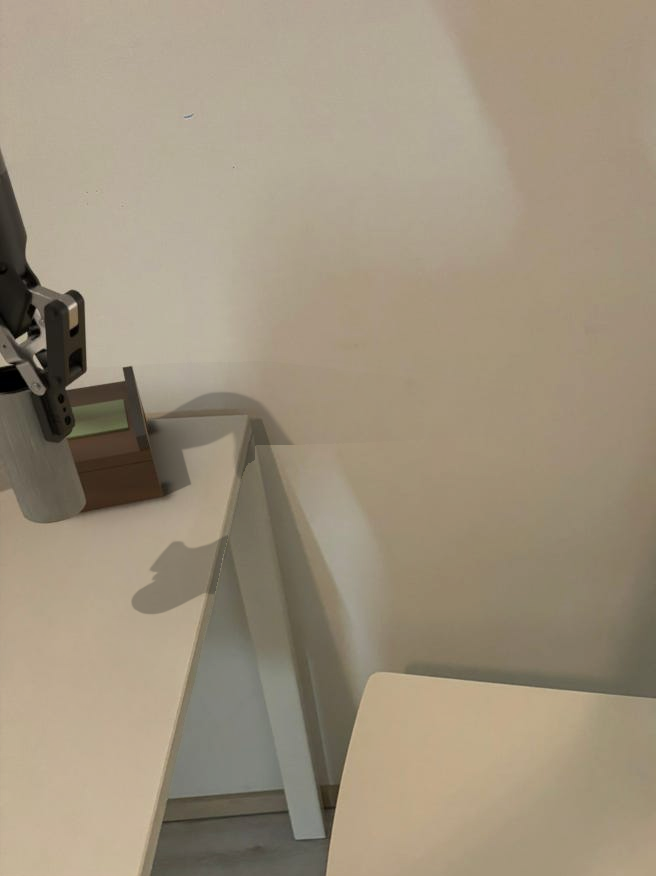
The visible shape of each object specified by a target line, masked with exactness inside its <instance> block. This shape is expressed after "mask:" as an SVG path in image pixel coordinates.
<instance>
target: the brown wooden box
mask: <svg viewBox="0 0 656 876" xmlns="http://www.w3.org/2000/svg"><path fill="white" fill-rule="evenodd" d="M122 372H123V378H124V380H122V381H115V382H108V383H101V384H96V385H89V386H83V387H78V388H71V389H66V392H67V395H68V398H69V402H70V405H71V408H72V411H73V412H72V413H73V414H74V418H75V427H73V430H72V432H71V433H70V434H69V435H68V436H67V437H66V438H67V441H68V444H69V448H70V451H71V454H72V457H73V460H74V463H75V466H76V469H77V472H78V476H79V479H80V482H81V485H82V488H83V491H84V495H85V499H86V504H85V506H84V508H83V509H82V510H81V511H80V512H79V513H78V514H81V513H82V514H83V513H85V512H91V511H97V510H102V509H107V508H113V507H118V506H123V505H128V504H133V503H138V502H144V501H149V500H154V499H160V498H164V493H163V488H162V484H161V479H160V477H159V473H158V469H157V466H156V462H155V459H154V454H153V451H152V446H151V442H150V436H149V433H150V430H149V429H150V428H149V424H148V421H147V417H146V413H145V409H144V405H143V402H142V397H141V394H140V390H139V386H138V382H137V378H136V375H135V372H134V367H133V366H132V365H130V366H123V367H122Z"/></svg>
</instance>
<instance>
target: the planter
mask: <svg viewBox="0 0 656 876" xmlns="http://www.w3.org/2000/svg"><path fill="white" fill-rule="evenodd" d="M37 367H38V368H39V370H40V371H42V370H43V368H41V367H39V366H37ZM32 393H33V392H32V391H31V390H30V388H29V387H28V385H27V384H26V382H25V380H24V379H23V377H22V376H21V374H20V372H19V371H18V369H17V367H16V366H15V365H12V364H8V365H3V366H0V459H1V462H2V464H3V467H4V469H5V473H6V475H7V478H8V481H9V483H10V486H11V488H12V491H13V493H14V496H15V499H16V502H17V504H18V507H19V509H20V512H21V514H22V515H23V517H24V518H25V519H26V520H27V521H29V522H32V523H34V524H45V525H46V524H55V523H60V522H63V521H66V520H68V519H71V518H73V517H75V516H76V515H78V514H80V513H79V512H80V511H81V510H82V509H83V508H84V506H85V504H86V499H85V495H84V491H83V488H82V485H81V482H80V479H79V476H78V472H77V469H76V466H75V463H74V460H73V457H72V454H71V451H70V448H69V444H68V441H67V438H64V439H63V440H62V441H61V442H59V443H55V442H49V441H47V440H46V439H45V437H44V434H43V431H42V428H41V425H40V422H39V419H38V416H37V413H36V410H35V407H34V405H33V402H32V399H31V396H30V394H32Z"/></svg>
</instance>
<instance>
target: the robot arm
mask: <svg viewBox="0 0 656 876" xmlns="http://www.w3.org/2000/svg"><path fill="white" fill-rule="evenodd" d="M3 155H4V154H3V152H2V149H1V147H0V354H1V356H2V358H3V360H4V361H5V362H6V363H7V364H8V365H15V366H16V367H17V369H18V371H19V372H20V374H21V376H22V377H23V379H24V380H25V382H26V384H27V385H28V387H29V388H30V390H31V391H32V392H33V393H32V394H30V396H31V399H32V402H33V405H34V407H35V410H36V413H37V416H38V419H39V422H40V425H41V428H42V431H43V434H44V437H45V439H46V440H47V441H49V442H55V443H59V442H61V441H62V440H63V439H64V438H66V437H67V436H68V435H69V434H70V433H71V432H72V430H73V427H75V418H74V414H73V413H72V412H73V411H72V408H71V405H70V402H69V398H68V395H67V392H66V390H67V389H66V388H67V387H68V386H69V385H71V384H72V383H74V382H75V381H76V380H78V379H79V378H80V377H82V376H83V375H85V374H86V373H87V370H88V364H87V363H88V361H87V359H88V358H87V334H86V333H87V330H86V307H85V306H86V304H85V303H86V302H85V298H84V297H83V295H82V294H81V293H80V292H79V291H78V290H76V289H69V290H67V291H66V292H64V293H60V292H57V291H55V290H52V289H50V288H47V287H45V286H42V284H41V281H40V278H38V276H37V274H35V273H34V270H33V269H32V268H31V267H30V264H29V263H28V261H27V255H26V252H27V243H28V242H27V241H28V234H27V231H26V228H25V224H24V221H23V217H22V214H21V211H20V208H19V205H18V201H17V198H16V194H15V192H14V188H13V185H12V181H11V178H10V174H9V172H8V168H7V166H6V162H5V159H4V156H3ZM25 334H27V337H26V339H25V340H24V341H22V342H21V343H18V342H17V339H19V338H21V337H22V336H23V335H25ZM34 356H35V358H36V359H37V361H38V363H39V364H40V366H41V367H42V371H40V370H39V368H40V367H39V366H38V365H37V364H36V362H35V360H34ZM38 367H39V368H38Z"/></svg>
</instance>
